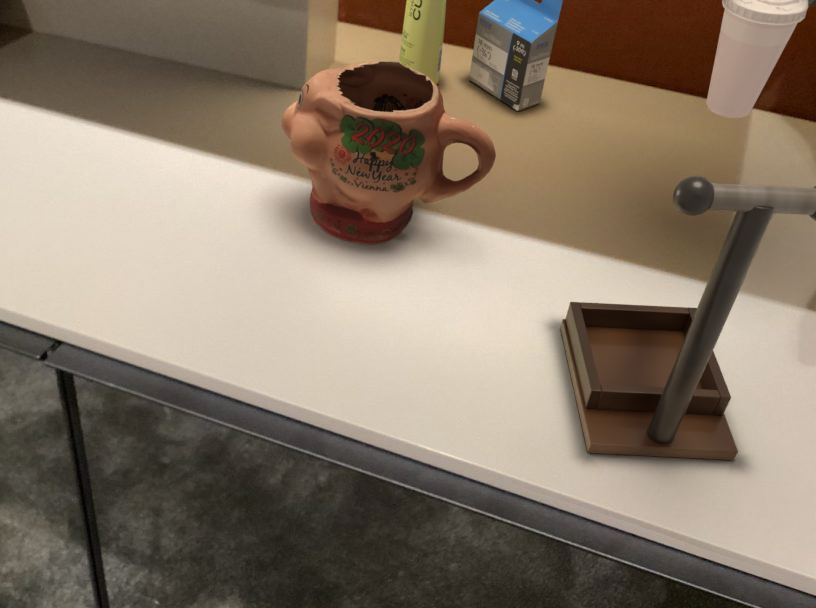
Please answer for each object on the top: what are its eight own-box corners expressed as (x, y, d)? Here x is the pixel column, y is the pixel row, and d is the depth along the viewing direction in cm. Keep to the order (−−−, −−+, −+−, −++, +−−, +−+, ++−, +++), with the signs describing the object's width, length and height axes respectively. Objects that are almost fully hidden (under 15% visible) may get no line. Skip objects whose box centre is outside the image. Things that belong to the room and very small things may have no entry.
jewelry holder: (688, 333, 83) (791, 82, 66) (734, 460, 72) (869, 199, 56) (559, 327, 83) (631, 74, 67) (587, 453, 73) (680, 190, 56)
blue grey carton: (466, 80, 114) (482, -25, 106) (491, 72, 116) (509, -32, 107) (516, 112, 109) (538, 5, 101) (542, 103, 111) (565, -3, 102)
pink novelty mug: (488, 202, 96) (513, 71, 86) (471, 275, 88) (497, 139, 78) (295, 169, 99) (298, 40, 90) (261, 237, 91) (260, 101, 81)
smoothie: (766, 132, 80) (833, -39, 71) (687, 118, 82) (742, -51, 72) (767, 96, 85) (831, -69, 75) (692, 83, 86) (744, -81, 76)
